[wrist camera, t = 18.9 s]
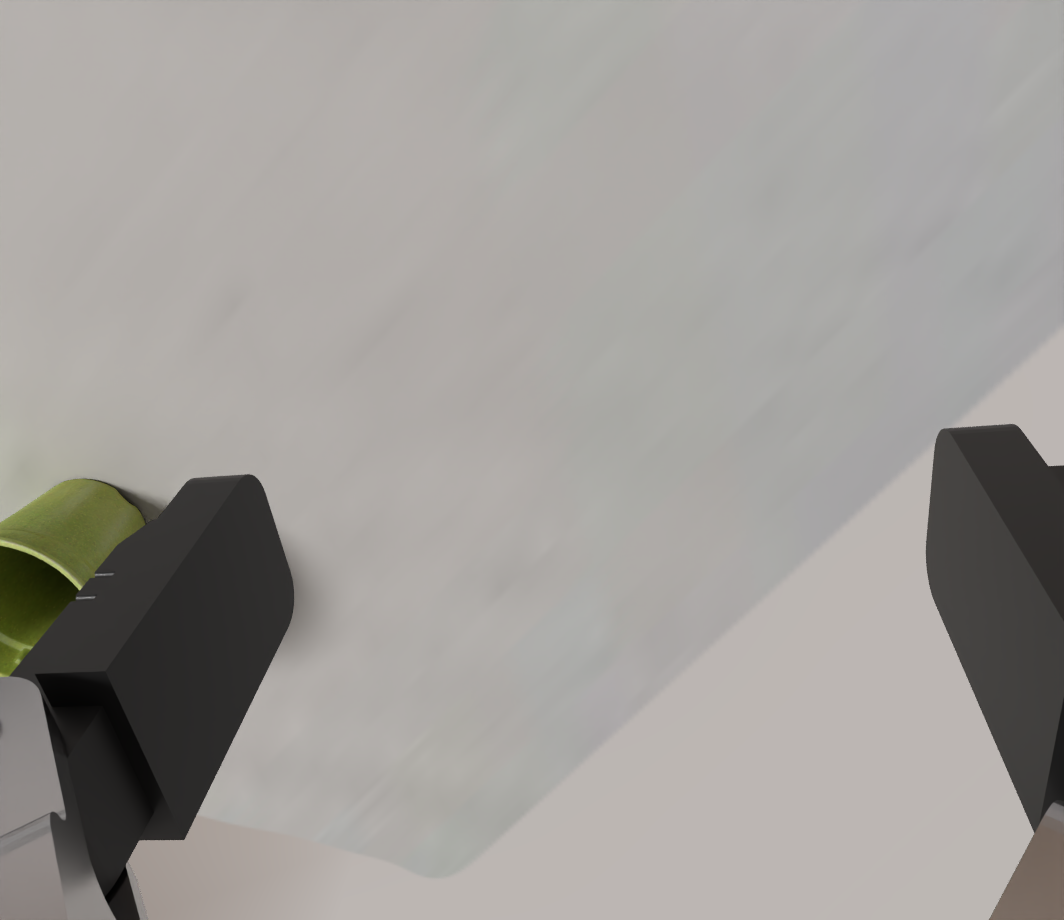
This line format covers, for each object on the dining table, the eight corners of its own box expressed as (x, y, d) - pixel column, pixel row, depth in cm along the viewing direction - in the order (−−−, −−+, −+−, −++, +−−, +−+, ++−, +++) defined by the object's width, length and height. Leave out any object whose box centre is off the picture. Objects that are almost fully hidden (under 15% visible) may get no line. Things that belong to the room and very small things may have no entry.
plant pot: (-1, 443, 52) (-108, 532, 45) (163, 457, 52) (83, 549, 44) (36, 578, 57) (-54, 678, 50) (187, 592, 56) (119, 696, 49)
